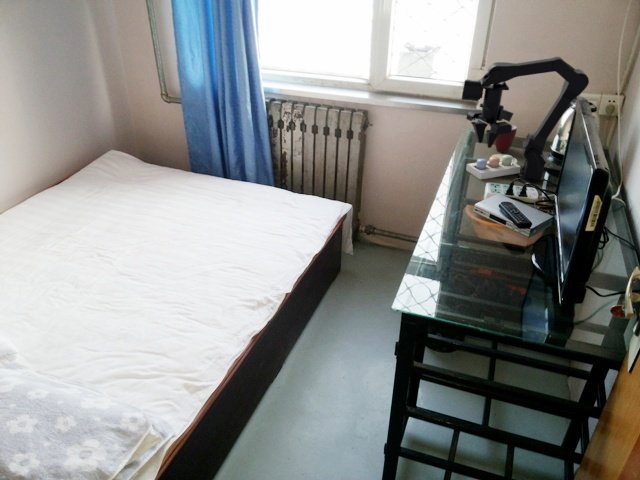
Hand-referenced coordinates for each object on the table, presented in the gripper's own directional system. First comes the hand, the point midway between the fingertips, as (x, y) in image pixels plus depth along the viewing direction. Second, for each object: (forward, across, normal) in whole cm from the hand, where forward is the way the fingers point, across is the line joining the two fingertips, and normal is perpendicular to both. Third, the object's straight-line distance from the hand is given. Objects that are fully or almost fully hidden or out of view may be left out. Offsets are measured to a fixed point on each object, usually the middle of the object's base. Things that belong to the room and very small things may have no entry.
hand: (484, 145), depth 185 cm
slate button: (+9, 0, 0) cm, 9 cm away
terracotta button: (+9, 0, -6) cm, 10 cm away
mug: (+11, +18, -23) cm, 31 cm away
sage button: (+9, 0, -11) cm, 14 cm away
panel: (+11, 0, -6) cm, 12 cm away
